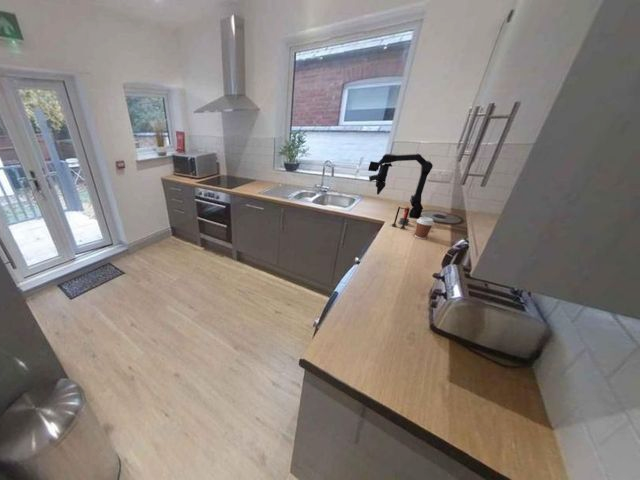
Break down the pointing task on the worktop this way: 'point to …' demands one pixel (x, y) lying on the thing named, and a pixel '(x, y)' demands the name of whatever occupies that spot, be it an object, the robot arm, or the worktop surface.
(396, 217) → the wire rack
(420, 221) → the coffee cup
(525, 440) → the worktop surface
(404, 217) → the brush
